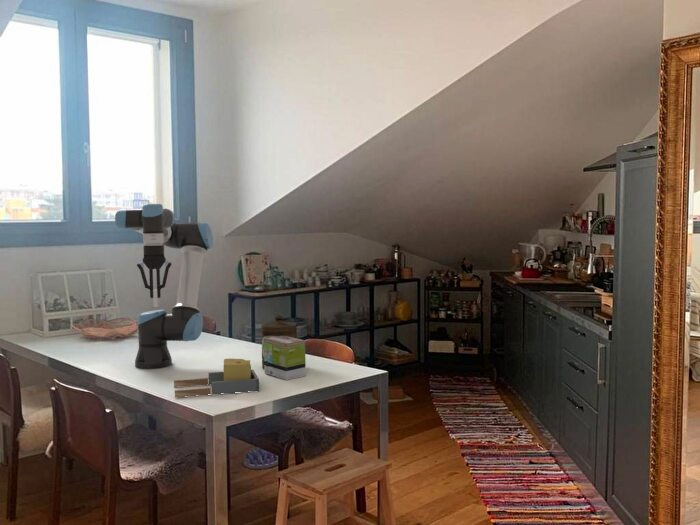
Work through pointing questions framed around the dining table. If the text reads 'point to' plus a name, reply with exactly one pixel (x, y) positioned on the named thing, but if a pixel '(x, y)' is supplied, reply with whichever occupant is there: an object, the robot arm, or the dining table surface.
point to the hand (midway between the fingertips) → (155, 306)
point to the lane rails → (191, 391)
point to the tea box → (284, 357)
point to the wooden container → (277, 331)
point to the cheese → (237, 369)
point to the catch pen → (232, 383)
